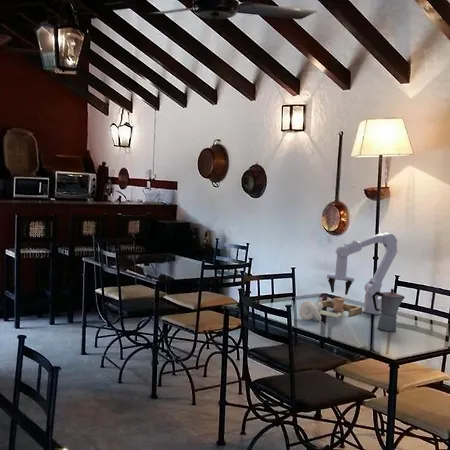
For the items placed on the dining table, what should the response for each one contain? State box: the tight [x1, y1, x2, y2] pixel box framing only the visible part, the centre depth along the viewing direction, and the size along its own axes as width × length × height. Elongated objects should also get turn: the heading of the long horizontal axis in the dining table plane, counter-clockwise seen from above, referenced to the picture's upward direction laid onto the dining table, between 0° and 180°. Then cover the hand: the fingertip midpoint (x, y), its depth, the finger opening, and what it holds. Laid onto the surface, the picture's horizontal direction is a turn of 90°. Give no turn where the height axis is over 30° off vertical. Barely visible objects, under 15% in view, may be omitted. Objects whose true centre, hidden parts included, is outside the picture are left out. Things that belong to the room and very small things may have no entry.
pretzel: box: [298, 300, 324, 322], centre depth 309 cm, size 11×12×9 cm
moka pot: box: [372, 288, 406, 333], centre depth 299 cm, size 10×15×20 cm, turn 89°
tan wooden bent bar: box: [315, 299, 363, 317], centre depth 334 cm, size 21×13×3 cm, turn 51°
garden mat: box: [320, 310, 343, 318], centre depth 325 cm, size 14×8×1 cm, turn 51°
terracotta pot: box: [333, 297, 345, 313], centre depth 334 cm, size 6×6×6 cm
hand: (339, 293), depth 334 cm, fingers open, 7 cm apart
